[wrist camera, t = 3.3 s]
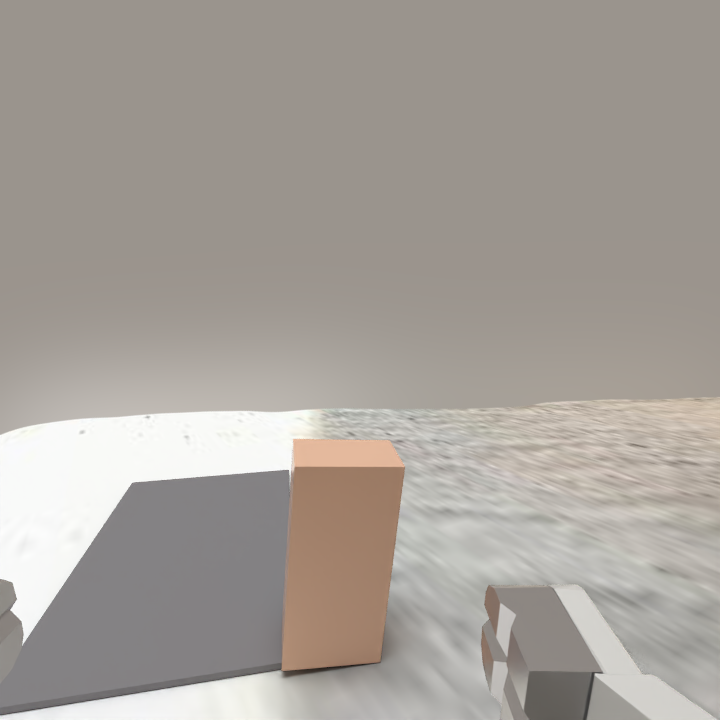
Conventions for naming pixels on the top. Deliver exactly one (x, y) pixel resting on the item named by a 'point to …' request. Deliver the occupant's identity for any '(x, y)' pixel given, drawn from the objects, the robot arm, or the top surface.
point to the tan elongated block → (339, 551)
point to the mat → (165, 595)
